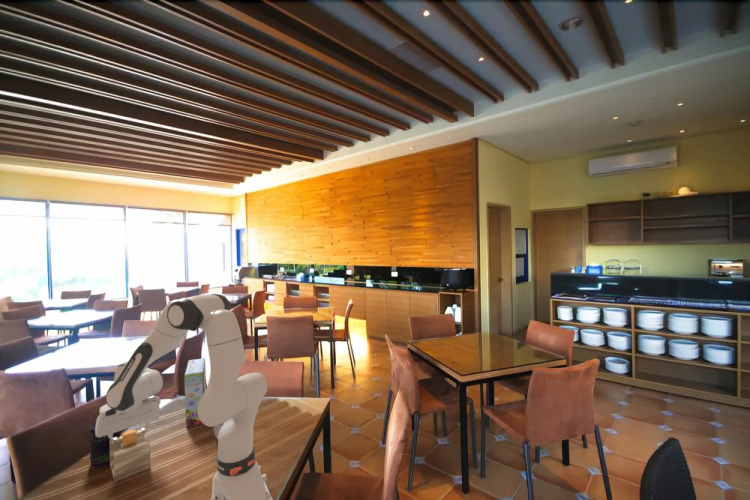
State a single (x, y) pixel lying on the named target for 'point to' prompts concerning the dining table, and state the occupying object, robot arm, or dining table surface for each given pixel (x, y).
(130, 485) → the dining table surface
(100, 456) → the storage jar
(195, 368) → the snack box
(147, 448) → the wooden napkin holder
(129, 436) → the brown egg
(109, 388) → the robot arm
